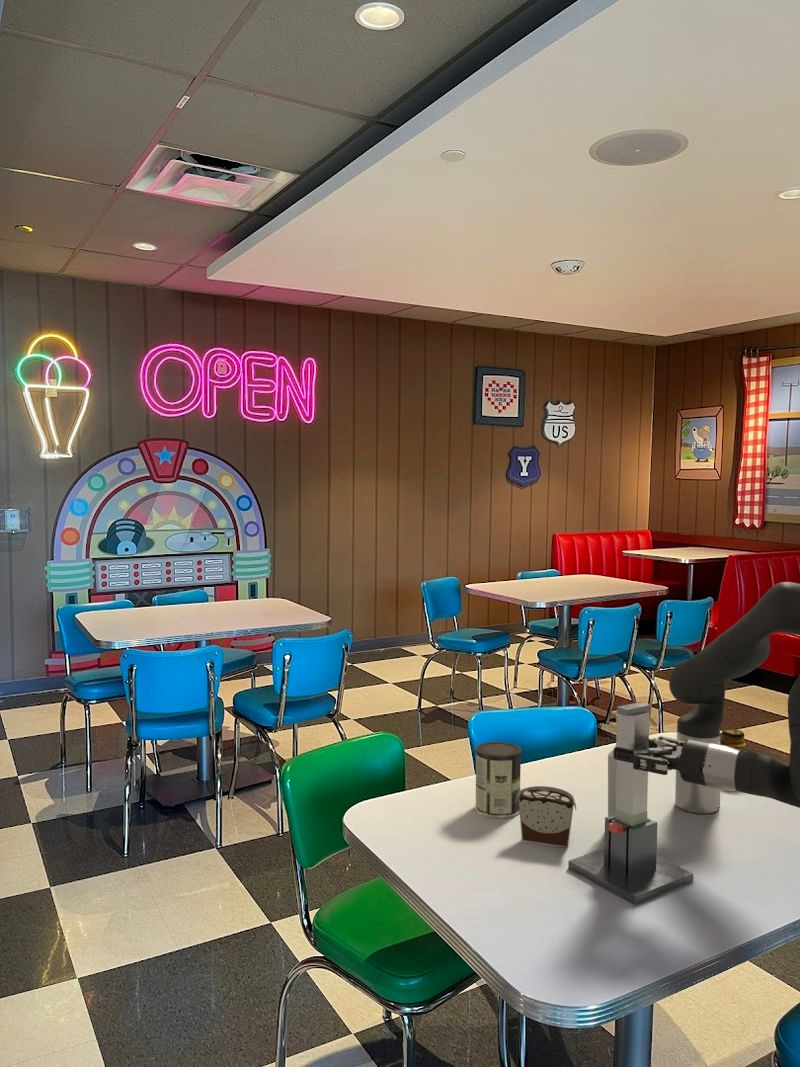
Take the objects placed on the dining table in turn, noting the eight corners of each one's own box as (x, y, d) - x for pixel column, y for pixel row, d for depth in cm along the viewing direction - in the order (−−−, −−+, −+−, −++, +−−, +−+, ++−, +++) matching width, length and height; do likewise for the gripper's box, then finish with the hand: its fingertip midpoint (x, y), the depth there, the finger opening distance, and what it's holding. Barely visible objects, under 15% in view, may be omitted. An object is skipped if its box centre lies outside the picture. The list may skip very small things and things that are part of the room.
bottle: (632, 838, 165) (635, 719, 164) (607, 836, 166) (609, 718, 165) (630, 828, 170) (633, 713, 169) (605, 826, 171) (608, 711, 170)
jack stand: (625, 848, 160) (626, 797, 160) (693, 881, 147) (694, 825, 146) (568, 868, 151) (569, 814, 151) (635, 904, 138) (636, 845, 137)
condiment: (750, 778, 201) (752, 731, 200) (736, 786, 195) (738, 738, 194) (722, 770, 206) (723, 725, 206) (708, 778, 200) (709, 732, 200)
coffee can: (503, 798, 186) (504, 738, 186) (529, 814, 177) (530, 751, 176) (466, 805, 182) (466, 744, 181) (490, 822, 172) (491, 758, 172)
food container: (579, 836, 166) (579, 789, 165) (575, 849, 160) (576, 800, 159) (520, 828, 170) (521, 782, 169) (514, 839, 164) (515, 792, 163)
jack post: (633, 820, 152) (636, 701, 151) (651, 828, 149) (654, 705, 147) (610, 827, 149) (613, 705, 147) (627, 835, 145) (630, 710, 144)
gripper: (723, 734, 145) (636, 718, 155) (700, 754, 133) (608, 736, 143) (722, 774, 145) (635, 756, 155) (699, 798, 134) (607, 777, 143)
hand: (622, 746), depth 149 cm, fingers open, 8 cm apart
